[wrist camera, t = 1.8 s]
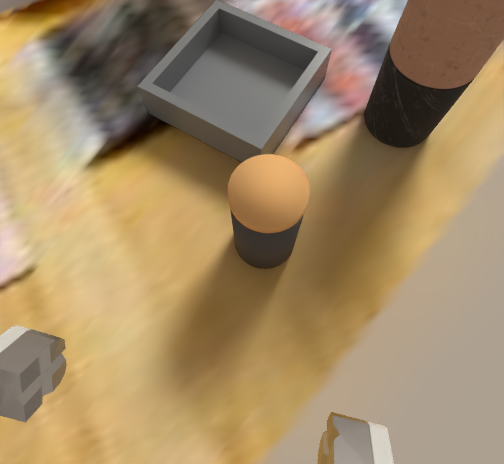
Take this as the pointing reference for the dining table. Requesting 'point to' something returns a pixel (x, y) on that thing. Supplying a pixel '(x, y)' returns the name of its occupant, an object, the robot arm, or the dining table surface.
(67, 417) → the dining table surface
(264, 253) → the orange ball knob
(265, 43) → the open square box
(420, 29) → the travel mug
